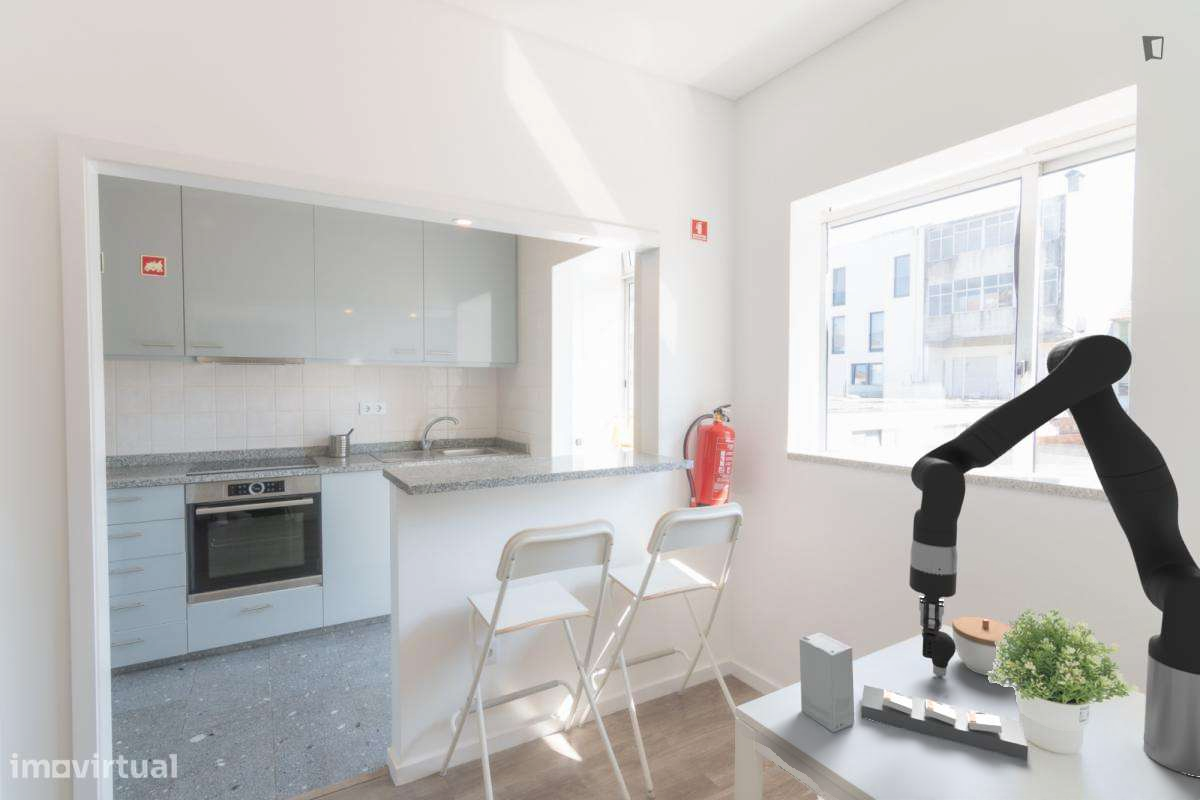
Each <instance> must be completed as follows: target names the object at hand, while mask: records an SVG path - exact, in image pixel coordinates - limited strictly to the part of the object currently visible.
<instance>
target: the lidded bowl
mask: <svg viewBox="0 0 1200 800" xmlns="http://www.w3.org/2000/svg"><path fill="white" fill-rule="evenodd" d="M951 624H952V625H951V626H952V639H953V640H954V643H955V646H956V650H955V653H956V654H957V656H958V658H959V659H960V660H961V661H962V662H963V663H964V664H965V667H966V668H968V669H969V670H971V671H972V672H974V673H976V674H979V673H980V675H982V674H983V675H982V676H986V677H988V676H987V673H988V671H992V670H993V662H994V661H995V658H996V645H995V643H994V642H995V641H999V640H1003V634H1004V633H1005V632H1008V631H1010V630H1011V626H1009V625H1008V624H1005V623H1003V622H1000V621H997V620H993V619H990V618H984V617H977V616H959V617H957V618H955V619H953V621H952V623H951Z"/></svg>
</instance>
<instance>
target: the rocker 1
mask: <svg viewBox="0 0 1200 800" xmlns="http://www.w3.org/2000/svg"><path fill="white" fill-rule="evenodd" d="M883 690H884V694H883V704H884V705H887V706H889V707H892V708H895V709H897V710H900V711H903V712H905V713H908V714H911V712H912V700H911V699H908V698H905V697H903V696H900V695H897V694H895V693H892V692H893V691H892V692H889V691H890V690H887V689H883ZM886 690H887V691H886Z"/></svg>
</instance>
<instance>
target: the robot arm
mask: <svg viewBox="0 0 1200 800" xmlns="http://www.w3.org/2000/svg"><path fill="white" fill-rule="evenodd" d="M1132 357H1133V355H1132V353H1131V349H1130V348H1129V346H1128V345H1127V344H1126V343H1125V342H1124V341H1122V340H1121V339H1120V338H1118V337H1116V336H1112V335H1109V334H1089V335H1088V334H1087V335H1083V336H1077V337H1072V338H1067V339H1064V340H1061V341H1059V342H1057V343H1056V344H1055V345H1054V346H1052V347H1051V349H1050V350H1049V352H1048V355H1047V358H1046V369H1047V373H1048V374H1047V375H1046V376H1045V377H1044V378H1042V379H1041V380H1040V381H1038V382H1037V383H1035V384H1034V385H1033V386H1031V387H1030V388H1028V389H1026V390H1024V391H1023V392H1021V393H1020V394H1018V395H1016V396H1014V397H1013V398H1011V399H1009V400H1007V401H1005V402H1004V403H1001V404H999V405H998V406H997V407H994V408H992V409H991V410H990V411H988V412H987V413H985V414H984V415H983V416H981V417H980V418H979V419H977V420H976V421H974V422H973V423H972V424H971V425H970V426H968V427H967V428H965V430H963V431H962V432H960V433H959V434H958V435H957V436H956V437H954V438H953V439H950V440H949V441H946V442H945V443H943V444H941V445H939V446H937V447H936V448H934V449H932V450H930V451H929V452H927V453H926V454H924V455H923V456H922V457H920V458H919V459H918V460H917V461H916V462H915V463H914V464H913V467H912V469H911V472H910V478H911V481H912V484H913V485H914V486H915V487H916V488H917V489H918V490H920V491H921V494H922V495H921V502H920V508H918V509H917V510H916V511H915V512H914V514H913V515H914V516H913V527H912V529H913V531H912V542H911V548H910V559H909V561H910V562H909V581H908V582H909V583H908V585H909V587H910V588H911V589H912V590H913V591H915V592H916V593H918V594H919V593H920V594H922V595H923V596H922V595H919V602H918V603H919V607H918V608H919V609H918V610H919V611H920V612H919V615H920V616H919V625H920V626H921V627H922V629H921V636H922V655H921V656H923V657H924V658H927V659H931V660H932V659H935V658H936V648H937V641H938V639H939V631H941V629H942V625H943V622H942V621H943V616H944V614H945V613H944V612H945V605H944V599H941V598H950V597H953V596H955V595H956V593H957V577H958V550H957V542H958V541H957V540H958V537H957V536H958V520H959V518H960V514H961V511H962V507H963V503H964V501H965V500H964V499H965V495H966V488H967V487H966V479H965V474H966V473H969V471H971V470H973V469H977V468H978V469H979V468H984V467H987V466H989V465H991V464H992V463H994V462H995V461H996V460H998V459H1000V458H1001V457H1002V456H1004V455H1005V454H1006V453H1007V452H1009V451H1010V450H1011V449H1012V448H1014V447H1016V445H1018V444H1019V443H1020V442H1021V441H1023V440H1024V439H1026V438H1027V437H1028V436H1030V435H1031V434H1033V432H1035V431H1037V430H1038V429H1039V428H1040V427H1042V426H1044V425H1045V424H1047V423H1048V422H1050V421H1051V420H1053V419H1054V418H1056V417H1058V416H1059V415H1060V414H1062V413H1064V412H1065V411H1067V410H1069V412H1070V414H1071V416H1072V418H1073V419H1074V422H1075V424H1076V427H1077V429H1078V431H1079V433H1080V436H1081V439H1082V442H1083V444H1084V446H1085V449H1086V451H1087V454H1088V456H1089V458H1090V461H1091V462H1092V465H1093V468H1094V471H1095V473H1096V476H1097V478H1098V480H1099V482H1100V485H1101V487H1102V490H1103V492H1104V494H1105V496H1106V498H1107V500H1108V502H1109V504H1110V506H1111V508H1112V511H1113V513H1114V515H1115V517H1116V519H1117V521H1118V523H1119V526H1120V527H1121V529H1122V531H1123V532H1124V534H1125V537H1126V538H1127V541H1128V543H1129V547H1130V550H1131V552H1132V556H1133V558H1134V563H1135V567H1136V570H1137V572H1138V573H1137V574H1138V577H1139V581H1140V584H1141V587H1142V590H1143V592H1144V594H1145V596H1146V598H1147V600H1149V601H1150V603H1151V605H1153V606H1154V607H1155V608H1157V609H1158V610H1159V611H1161V612H1162V617H1161V618H1162V619H1161V625H1160V626H1161V628H1160V633H1159V634H1156V635H1152V636H1151V637H1150V638H1149V640H1148V643H1147V644H1148V646H1147V648H1148V649H1147V665H1146V666H1147V667H1146V689H1145V690H1146V691H1145V708H1144V710H1145V711H1144V730H1143V731H1144V732H1143V751H1144V752H1145V754H1146V755H1147V756H1148V757H1150V758H1151V759H1152V760H1154V761H1155V762H1156V763H1158V764H1160V765H1161V766H1163V767H1166V768H1168V769H1169V768H1170V770H1172V769H1173V770H1172V771H1174V770H1175V771H1174V772H1177V771H1179V772H1183V773H1186V774H1190V775H1194V776H1200V567H1199V566H1198V564H1197V563H1196V562H1195V560H1194V558H1193V556H1192V555H1191V553H1190V551H1189V549H1188V546H1187V545H1186V543H1185V541H1184V538H1183V537H1182V534H1181V530H1180V527H1179V526H1180V525H1179V496H1178V495H1179V494H1178V490H1177V487H1176V486H1177V485H1176V483H1175V480H1174V478H1173V476H1172V473H1171V471H1170V469H1169V466H1168V464H1167V462H1166V460H1165V458H1164V456H1163V453H1161V451H1160V449H1159V447H1157V445H1156V444H1155V443H1154V441H1153V440H1152V439H1151V438H1150V436H1148V435H1147V434H1146V433H1145V432H1144V430H1142V428H1141V427H1140V426H1139V425H1138V424H1137V423H1136V422H1135V421H1134V420H1133V419H1132V418H1131V416H1130V415H1128V413H1127V412H1126V411H1125V409H1124V408H1123V406H1122V405H1121V403H1120V401H1119V399H1118V397H1117V395H1116V393H1115V389H1114V388H1113V384H1115V383H1118V382H1119V381H1120V380H1122V379H1123V378H1124V377H1125V375H1126V374H1128V372H1129V370H1130V369H1131V365H1132V363H1133V360H1132V359H1133V358H1132ZM1179 772H1178V773H1179ZM1186 774H1185V775H1186Z"/></svg>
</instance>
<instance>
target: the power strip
mask: <svg viewBox="0 0 1200 800" xmlns="http://www.w3.org/2000/svg"><path fill="white" fill-rule="evenodd" d="M884 690H886V691H889V692H892V693H895V694H897V695H900V696H903V697H905V698H908V699H911V700H912V712H911V714H908V713H905V712H903V711H900V710H897V709H895V708H892V707H889V706H887V705H884V704H883V694H884ZM925 700H927V699H926V698H922V697H918V696H913V695H908V694H904V693H900V692H897V691H891V690H887V689H882V688H880V687H879V688H878V687H874V686H870V685H865V684H864V685H863V691H862V697H861V705H860V718H861V717H862V718H861V719H863V718H867V719H871V720H874V721H873V722H875V721H878V722H877V723H879V722H881V723H880V724H883V723H884V724H885V725H887V724H888V726H891V725H892V727H895V728H899V729H903V730H906V729H907V731H911V732H915V733H919V734H923V735H926V736H929V737H935V738H939V739H942V740H946V741H950V742H954V743H957V744H961V745H966V746H969V747H973V748H978V749H981V750H985V751H989V752H993V753H998V754H999V755H1000V754H1002V755H1005V756H1009V757H1013V758H1017V759H1020V760H1025V761H1028V756H1029V755H1028V754H1029V753H1028V752H1029V746H1028V743H1027V740H1026V735H1025V732H1024V730H1023V727H1022V723H1021V720H1017V719H1012V718H1008V717H1005V716H999V715H998V716H999V720H1000V724H1001V729H1002V733H1000V732H992V731H983V730H974V729H970V727H969V721H968V715H967V713H974V714H983V715H993V716H997V715H995V714H991V713H987V712H982V711H978V710H973V709H970V708H964V707H960V706H957V705H952V704H947V703H943V702H939V701H934V700H930V699H928V700H929V701H932V702H935V703H937V704H940V705H943V706H945V707H948V708H951V709H954V710H955V713H956V723H955V725H953V724H950V723H947V722H945V721H942V720H939V719H937V718H934V717H931V716H929V715H926V714H925V706H924V705H925ZM867 719H866V720H867ZM871 720H870V721H871ZM884 724H883V725H884Z"/></svg>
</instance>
